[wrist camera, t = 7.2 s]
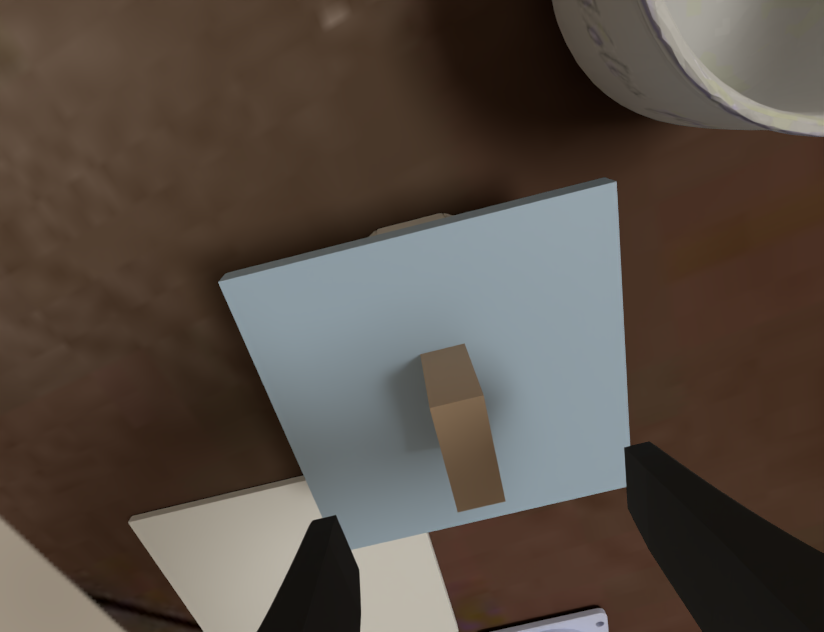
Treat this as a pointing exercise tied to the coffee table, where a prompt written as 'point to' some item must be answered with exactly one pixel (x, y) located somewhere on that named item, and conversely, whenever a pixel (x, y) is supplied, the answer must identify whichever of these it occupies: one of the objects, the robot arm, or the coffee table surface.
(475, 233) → the cover
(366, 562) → the mat
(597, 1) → the teacup
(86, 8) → the coffee table surface
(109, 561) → the coffee table surface
